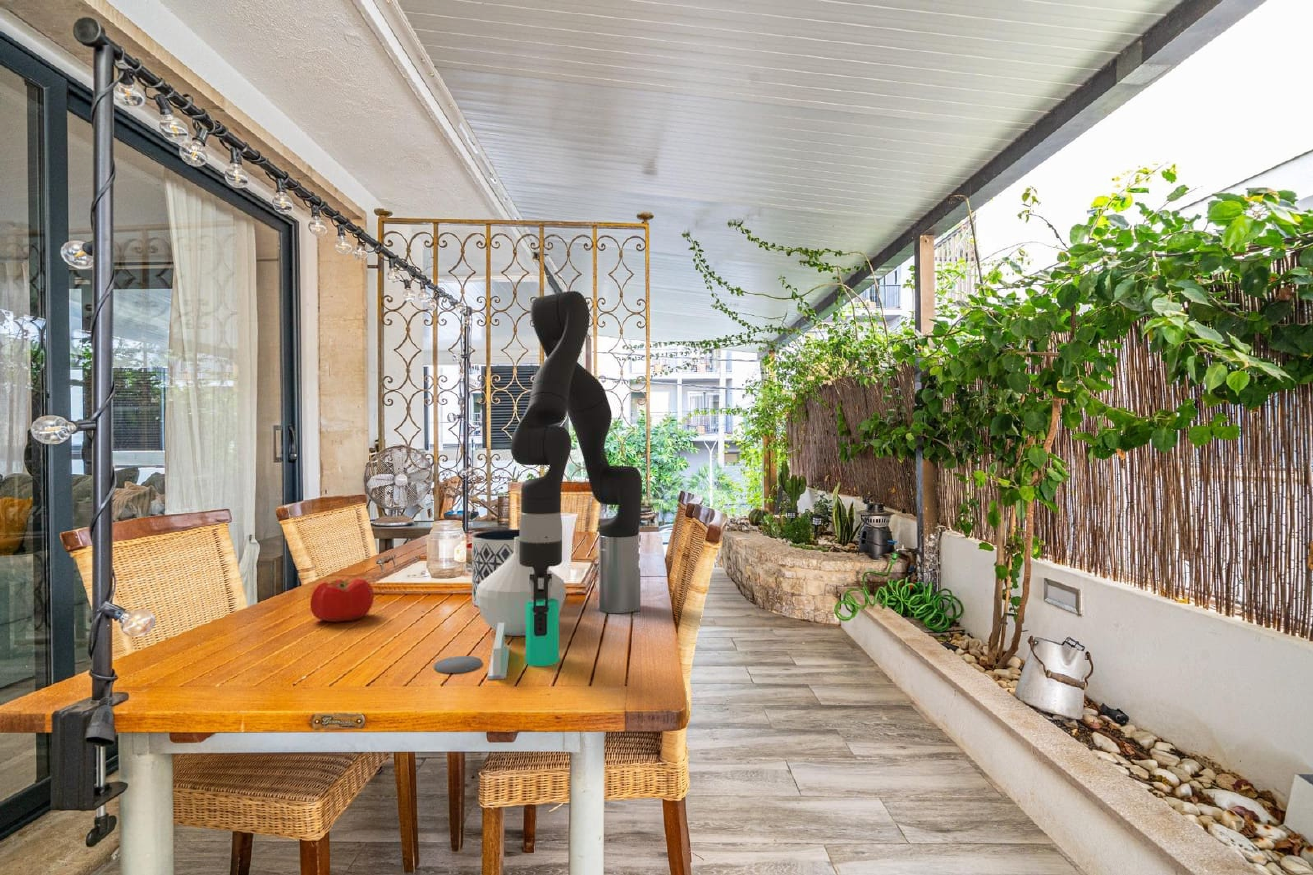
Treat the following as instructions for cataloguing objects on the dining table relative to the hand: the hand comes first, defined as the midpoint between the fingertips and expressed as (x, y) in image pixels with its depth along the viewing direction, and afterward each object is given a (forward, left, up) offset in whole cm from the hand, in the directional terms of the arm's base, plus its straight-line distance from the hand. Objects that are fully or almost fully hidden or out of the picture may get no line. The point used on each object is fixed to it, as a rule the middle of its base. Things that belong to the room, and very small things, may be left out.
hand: (540, 629), depth 121 cm
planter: (+7, -46, -6) cm, 47 cm away
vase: (+4, -21, -6) cm, 22 cm away
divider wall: (+7, 0, -6) cm, 9 cm away
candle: (0, 0, -6) cm, 6 cm away
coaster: (+14, 0, -6) cm, 15 cm away
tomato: (+43, -37, -6) cm, 57 cm away
